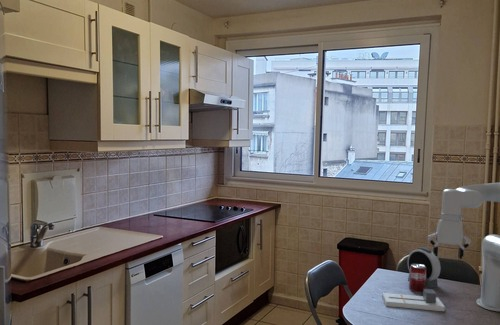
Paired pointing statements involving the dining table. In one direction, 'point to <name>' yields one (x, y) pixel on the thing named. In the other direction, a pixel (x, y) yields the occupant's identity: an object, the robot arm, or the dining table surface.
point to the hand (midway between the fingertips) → (447, 256)
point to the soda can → (417, 278)
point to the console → (411, 302)
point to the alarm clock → (426, 264)
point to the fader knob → (429, 295)
